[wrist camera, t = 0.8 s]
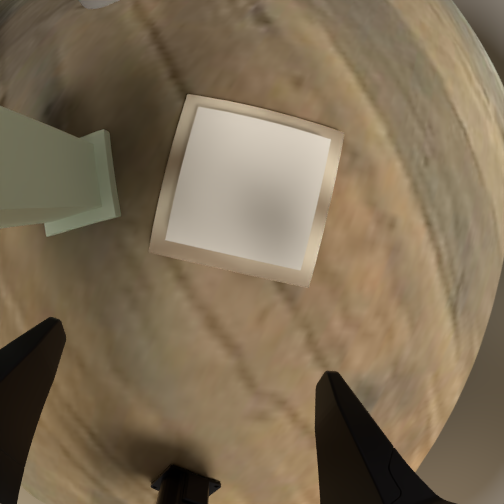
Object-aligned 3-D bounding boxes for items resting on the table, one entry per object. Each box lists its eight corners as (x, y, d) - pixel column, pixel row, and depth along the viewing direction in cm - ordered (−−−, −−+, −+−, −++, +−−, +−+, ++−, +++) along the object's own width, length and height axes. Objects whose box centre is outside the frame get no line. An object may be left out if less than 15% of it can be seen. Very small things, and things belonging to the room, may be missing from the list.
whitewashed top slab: (294, 264, 21) (300, 270, 19) (171, 237, 20) (165, 240, 18) (322, 145, 20) (331, 139, 18) (201, 115, 19) (198, 106, 17)
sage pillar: (121, 216, 21) (8, 228, 8) (54, 235, 21) (-61, 260, 8) (109, 132, 20) (7, 74, 7) (44, 158, 20) (-66, 136, 7)
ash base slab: (302, 281, 23) (308, 287, 21) (155, 248, 22) (148, 252, 20) (335, 138, 22) (344, 132, 20) (191, 103, 21) (187, 93, 19)
